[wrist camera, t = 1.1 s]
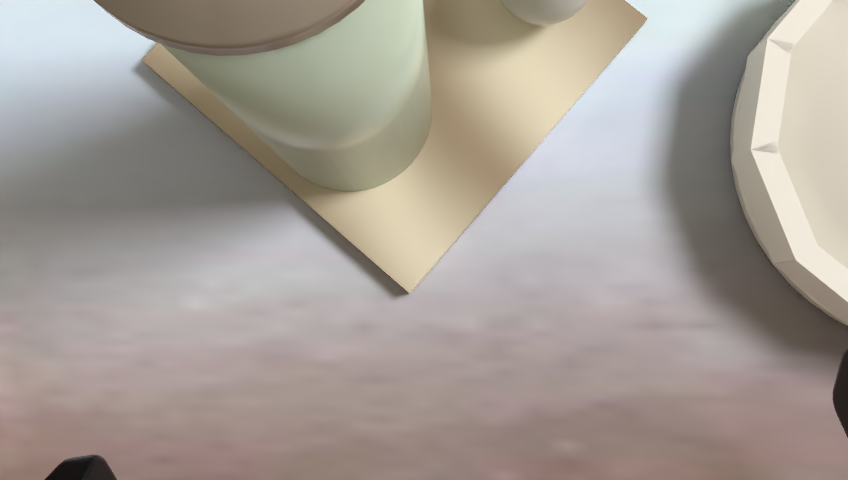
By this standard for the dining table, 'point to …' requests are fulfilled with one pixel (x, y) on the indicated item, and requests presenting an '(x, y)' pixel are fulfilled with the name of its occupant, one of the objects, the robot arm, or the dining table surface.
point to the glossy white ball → (543, 10)
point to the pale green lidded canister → (307, 76)
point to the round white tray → (798, 150)
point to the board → (451, 123)
